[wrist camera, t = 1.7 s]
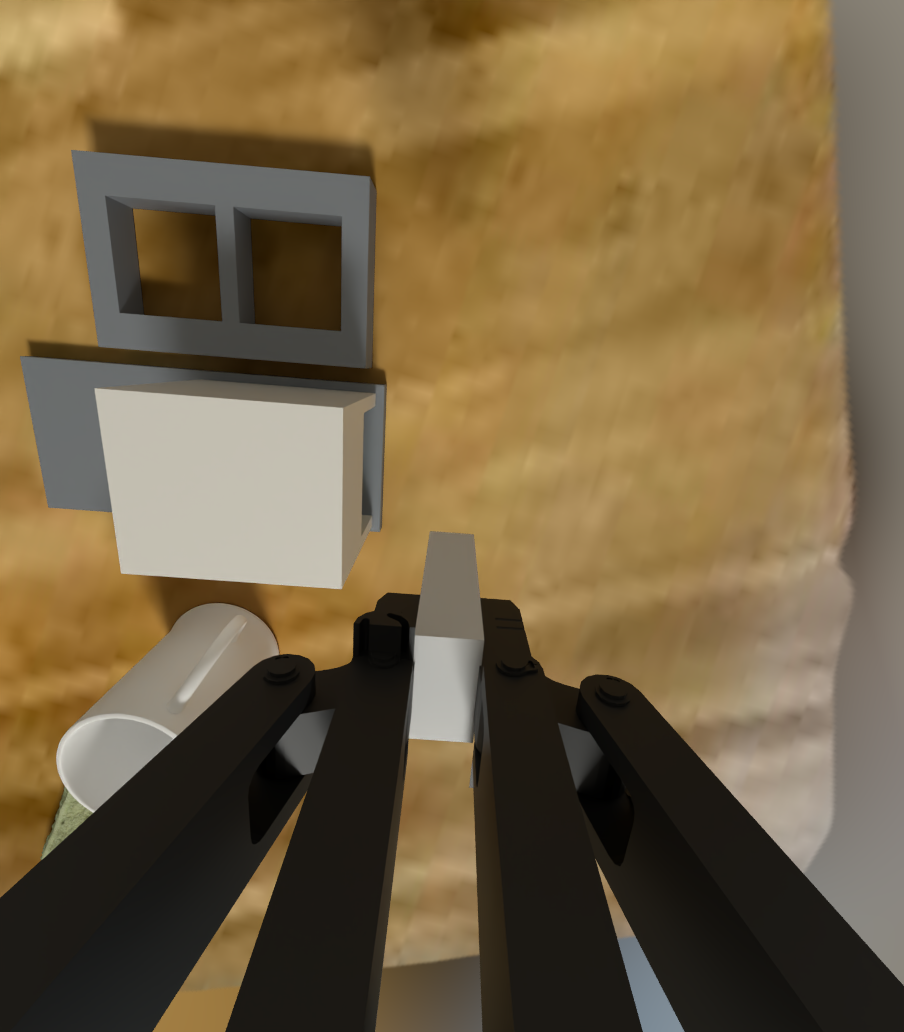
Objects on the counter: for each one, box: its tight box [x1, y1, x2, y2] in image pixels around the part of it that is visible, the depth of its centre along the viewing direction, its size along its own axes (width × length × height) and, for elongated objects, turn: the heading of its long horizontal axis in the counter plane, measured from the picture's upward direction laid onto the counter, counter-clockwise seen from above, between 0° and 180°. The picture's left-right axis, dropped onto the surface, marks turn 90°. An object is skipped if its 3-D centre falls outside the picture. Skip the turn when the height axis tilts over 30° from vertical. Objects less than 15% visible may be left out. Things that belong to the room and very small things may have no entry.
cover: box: [94, 379, 376, 589], centre depth 28 cm, size 11×9×10 cm
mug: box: [56, 603, 279, 813], centre depth 32 cm, size 12×8×12 cm
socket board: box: [71, 150, 376, 368], centre depth 29 cm, size 16×10×2 cm, turn 86°
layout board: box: [20, 356, 387, 532], centre depth 31 cm, size 23×10×5 cm, turn 86°
